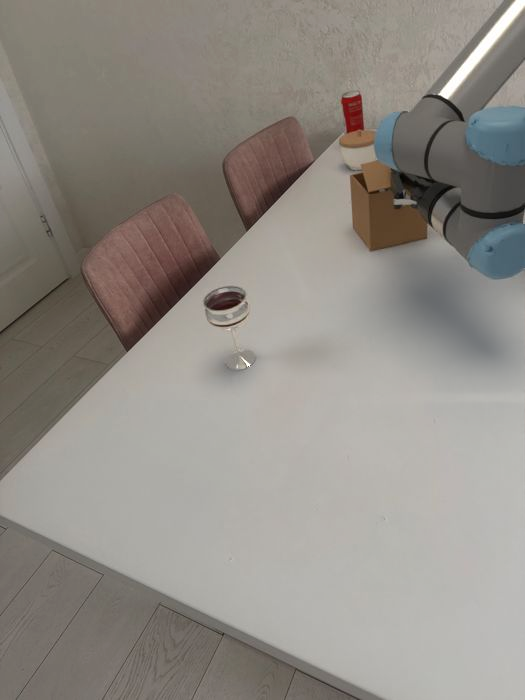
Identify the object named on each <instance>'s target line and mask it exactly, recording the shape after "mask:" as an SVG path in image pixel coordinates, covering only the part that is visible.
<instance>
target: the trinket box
mask: <svg viewBox="0 0 525 700" xmlns="http://www.w3.org/2000/svg"><path fill="white" fill-rule="evenodd" d="M376 131H377V130H370V129H364V130H357V131H354V132H350V133H347V134H345V135H344V134H343V135H341V136H340V137H339V139H338V144H339V152H340V156H341V159H342V161H343V162H344V164H345V165H346V166H348V168H349V170H353V171H362V168H361V164H364V163H369V162H373V161H377V160H378V159H377V157H376V154H375V151H374V138H375V134H376Z"/></svg>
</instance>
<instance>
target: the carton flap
mask: <svg viewBox="0 0 525 700" xmlns="http://www.w3.org/2000/svg"><path fill="white" fill-rule="evenodd" d="M361 168H362V170H361V172H363V175H364V179H365V182H366V186H367V189H368V192H373V191H378V190H382V189H387V188H391V172H392V170H391V168H390V167H387V166H385V165H383V164H382V163H381V162H380V161H379V160H378V159H376V160H375V161H373V162H369V163H364V164H361Z"/></svg>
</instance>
